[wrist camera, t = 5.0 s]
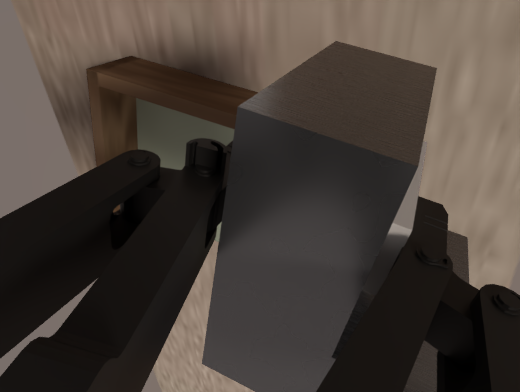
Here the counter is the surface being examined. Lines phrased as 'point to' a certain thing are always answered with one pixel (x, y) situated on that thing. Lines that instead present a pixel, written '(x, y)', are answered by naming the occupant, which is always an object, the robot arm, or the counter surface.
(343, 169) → the bracket
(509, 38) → the counter surface
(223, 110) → the walls
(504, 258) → the counter surface
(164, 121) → the mat
